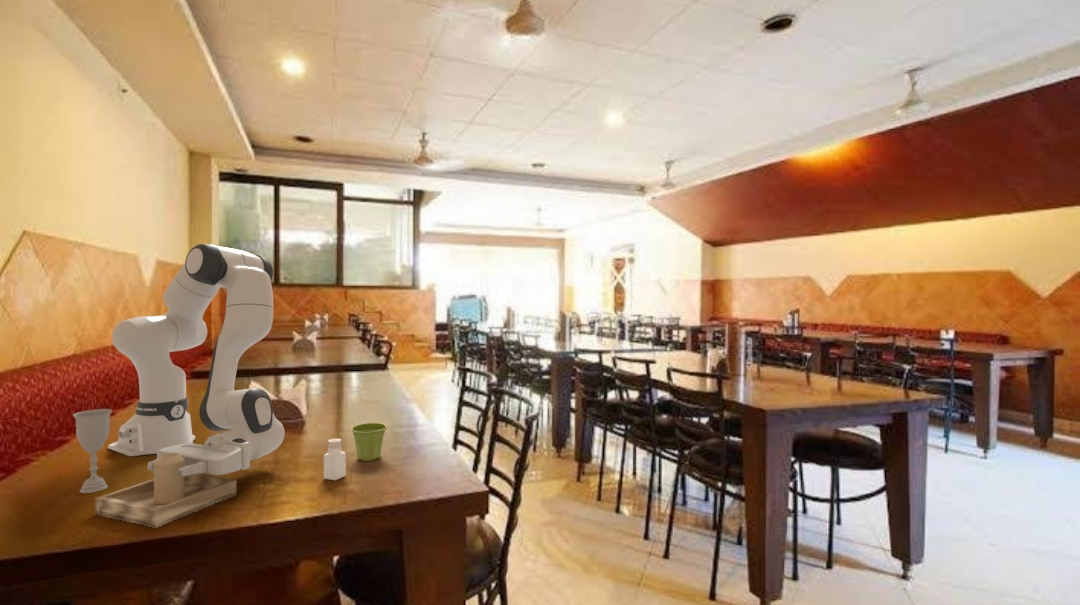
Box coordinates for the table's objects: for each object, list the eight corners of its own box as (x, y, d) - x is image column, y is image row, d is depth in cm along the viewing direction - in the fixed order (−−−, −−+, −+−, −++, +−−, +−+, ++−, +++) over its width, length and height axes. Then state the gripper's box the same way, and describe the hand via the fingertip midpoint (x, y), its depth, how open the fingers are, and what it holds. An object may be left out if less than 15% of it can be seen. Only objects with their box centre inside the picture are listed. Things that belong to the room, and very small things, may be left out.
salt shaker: (335, 481, 129) (335, 443, 129) (322, 479, 130) (322, 441, 130) (346, 476, 133) (346, 438, 133) (334, 474, 134) (334, 437, 134)
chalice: (93, 482, 127) (92, 408, 126) (121, 483, 126) (120, 409, 126) (65, 494, 119) (64, 416, 119) (94, 495, 119) (93, 416, 119)
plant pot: (386, 461, 144) (386, 430, 144) (350, 464, 142) (350, 432, 141) (386, 451, 153) (386, 422, 153) (352, 454, 151) (352, 424, 150)
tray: (95, 514, 109) (95, 498, 109) (180, 484, 126) (180, 470, 126) (155, 528, 103) (155, 511, 103) (236, 495, 120) (236, 480, 120)
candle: (168, 506, 111) (168, 459, 111) (147, 503, 112) (146, 457, 112) (190, 496, 117) (190, 451, 117) (170, 493, 118) (169, 449, 118)
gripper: (191, 433, 130) (131, 449, 117) (254, 442, 123) (198, 460, 110) (191, 459, 130) (132, 477, 117) (254, 469, 123) (198, 490, 110)
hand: (164, 469), depth 114 cm, fingers open, 8 cm apart
